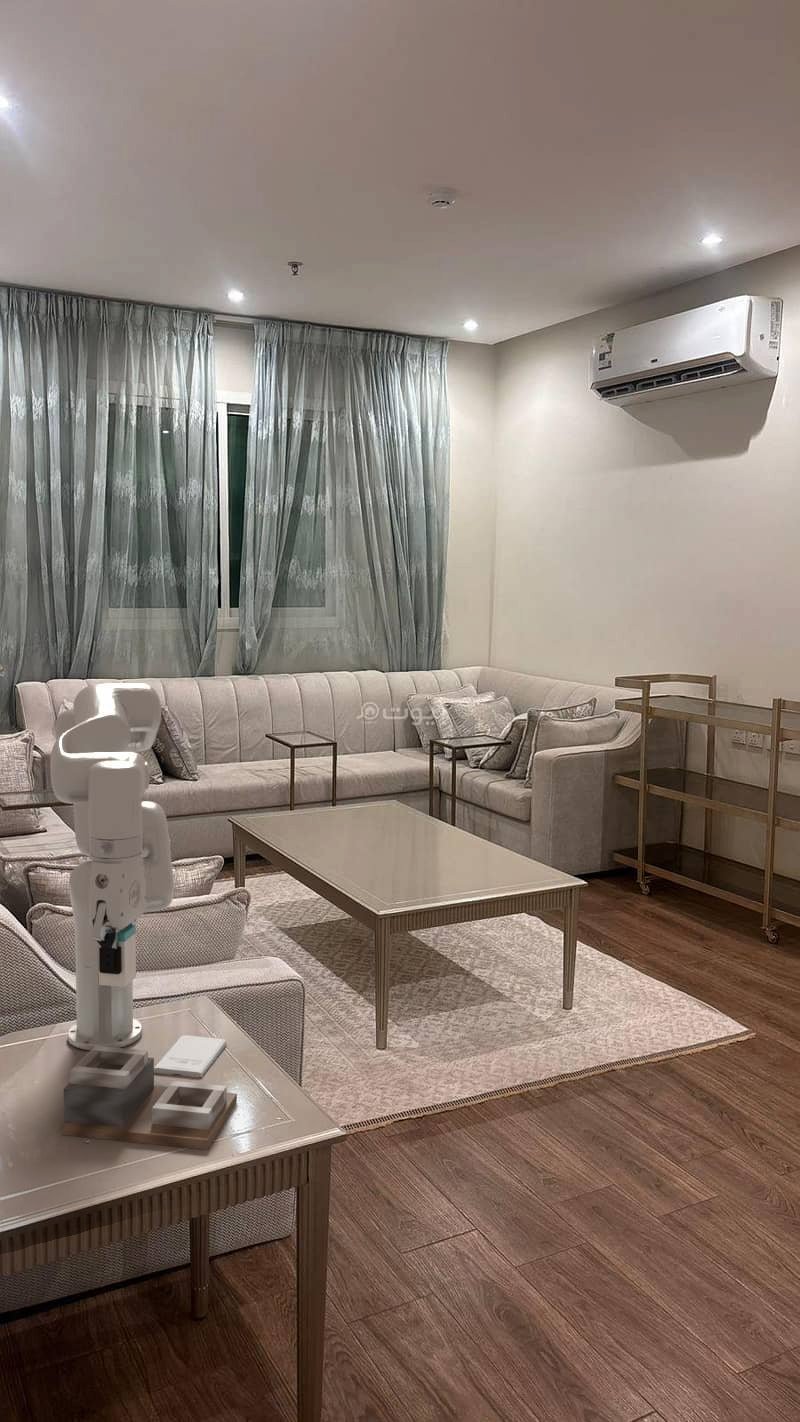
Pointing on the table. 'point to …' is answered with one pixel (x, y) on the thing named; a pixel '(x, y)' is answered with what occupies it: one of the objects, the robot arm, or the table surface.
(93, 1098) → the socket console
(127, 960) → the plug block
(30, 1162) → the table surface
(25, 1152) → the table surface
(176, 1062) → the external hard drive
